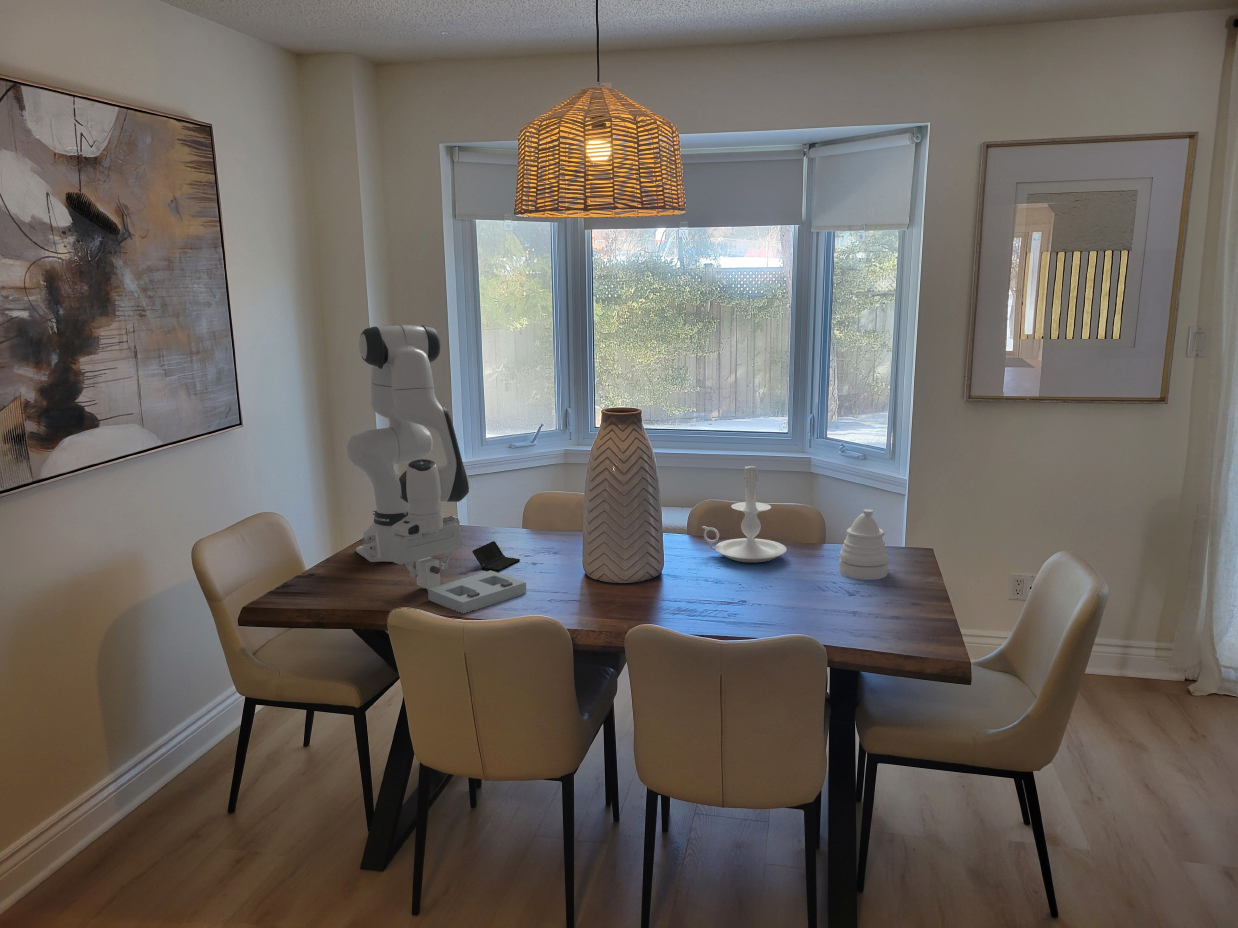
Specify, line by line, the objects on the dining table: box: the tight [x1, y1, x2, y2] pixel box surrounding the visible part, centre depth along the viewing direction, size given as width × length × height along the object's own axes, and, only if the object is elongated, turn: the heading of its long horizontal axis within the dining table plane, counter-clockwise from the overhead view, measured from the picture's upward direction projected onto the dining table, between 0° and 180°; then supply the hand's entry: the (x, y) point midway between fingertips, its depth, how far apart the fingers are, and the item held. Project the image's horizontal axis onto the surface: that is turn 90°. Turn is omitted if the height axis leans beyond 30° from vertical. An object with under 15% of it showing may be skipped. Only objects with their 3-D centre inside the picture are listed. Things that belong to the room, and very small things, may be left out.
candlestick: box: [701, 463, 787, 564], centre depth 248 cm, size 21×25×28 cm
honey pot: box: [838, 508, 889, 581], centre depth 234 cm, size 13×13×18 cm
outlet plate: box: [427, 570, 527, 615], centre depth 222 cm, size 15×20×4 cm
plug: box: [415, 556, 441, 592], centre depth 227 cm, size 7×4×8 cm, turn 46°
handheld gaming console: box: [471, 540, 521, 573], centre depth 248 cm, size 12×7×10 cm
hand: (429, 572), depth 228 cm, fingers open, 8 cm apart
